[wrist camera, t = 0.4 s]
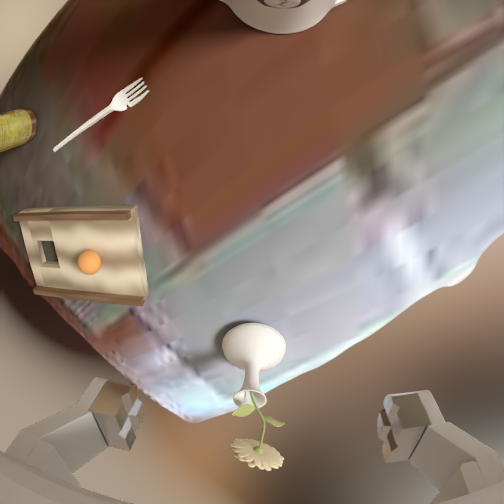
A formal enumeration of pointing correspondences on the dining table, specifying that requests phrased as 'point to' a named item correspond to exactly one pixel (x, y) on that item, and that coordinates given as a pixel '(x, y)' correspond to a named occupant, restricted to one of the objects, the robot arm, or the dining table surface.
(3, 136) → the sauce bottle
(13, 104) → the dining table surface
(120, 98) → the fork
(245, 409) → the flower in vase
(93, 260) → the ball
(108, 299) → the beige tray
